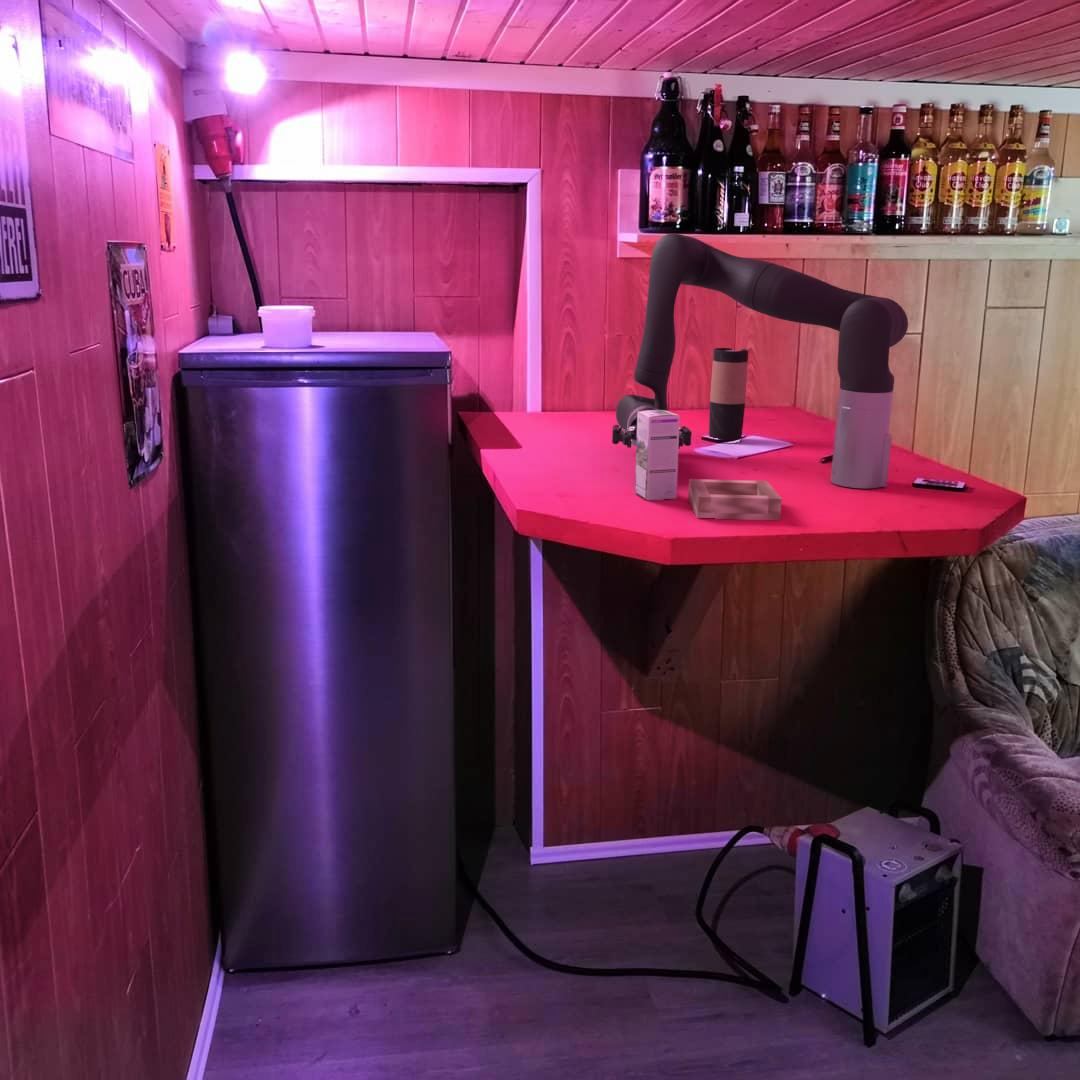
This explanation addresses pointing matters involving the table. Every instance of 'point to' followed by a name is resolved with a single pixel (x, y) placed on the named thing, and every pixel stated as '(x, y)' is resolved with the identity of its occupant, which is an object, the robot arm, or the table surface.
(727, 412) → the travel mug
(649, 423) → the syrup box
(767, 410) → the table surface
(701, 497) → the holder
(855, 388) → the robot arm
